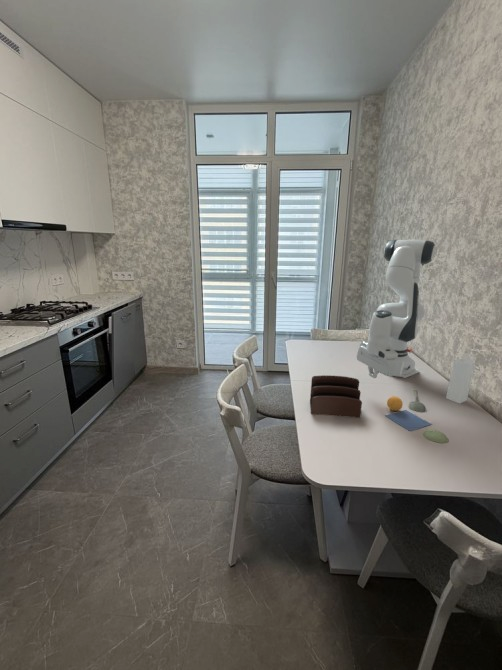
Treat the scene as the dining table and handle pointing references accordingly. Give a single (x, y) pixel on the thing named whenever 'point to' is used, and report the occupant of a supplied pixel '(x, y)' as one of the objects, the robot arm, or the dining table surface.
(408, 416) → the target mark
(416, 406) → the soupspoon
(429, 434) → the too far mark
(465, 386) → the milk
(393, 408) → the ball
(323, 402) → the letter holder
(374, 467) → the dining table surface
